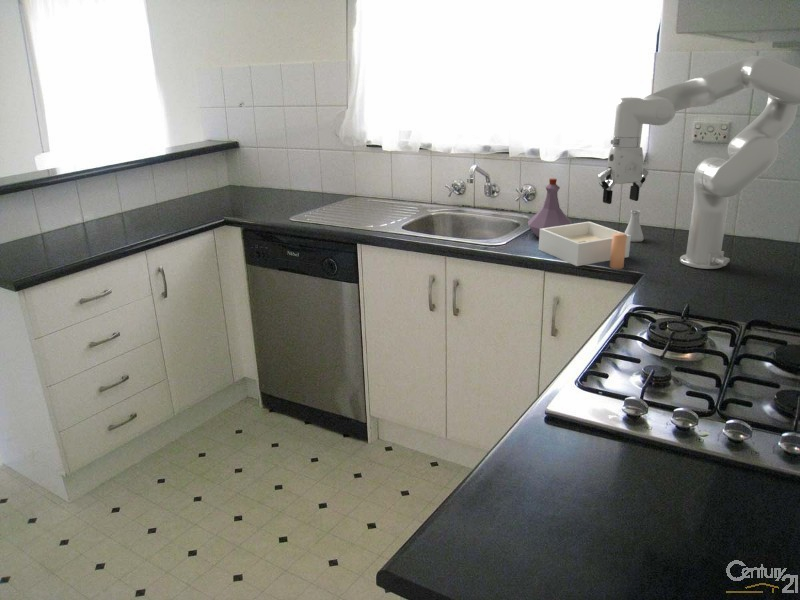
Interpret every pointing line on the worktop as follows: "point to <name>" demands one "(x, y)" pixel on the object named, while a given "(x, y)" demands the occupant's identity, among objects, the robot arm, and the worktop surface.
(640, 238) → the flask
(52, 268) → the worktop surface
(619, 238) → the peg
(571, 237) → the box
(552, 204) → the flask
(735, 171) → the robot arm
